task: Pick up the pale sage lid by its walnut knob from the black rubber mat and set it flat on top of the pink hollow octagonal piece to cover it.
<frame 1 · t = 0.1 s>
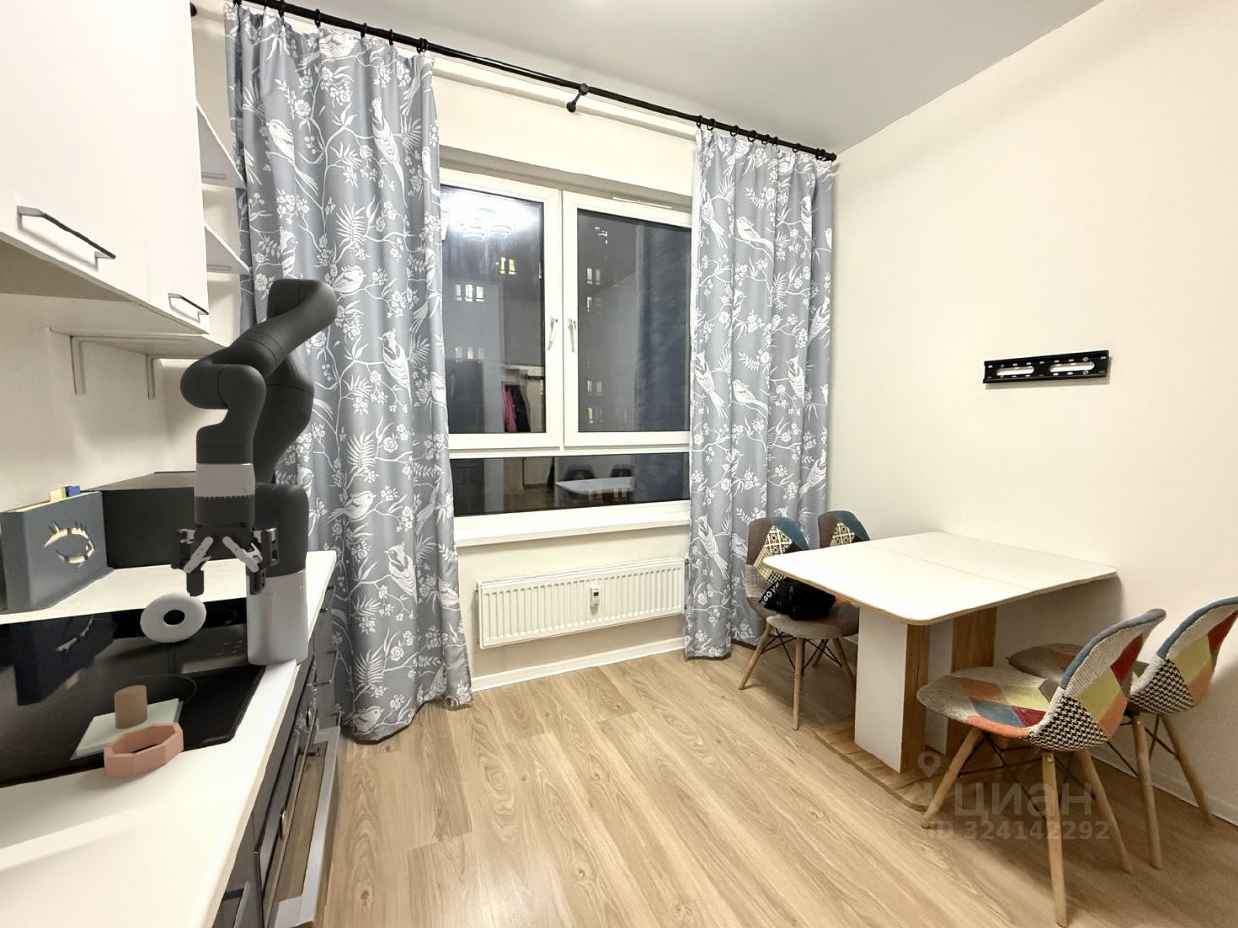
hand: (226, 594, 79), 17 cm above the worktop, tool pointing down, fingers open, 8 cm apart
pink hollow octagonal piece: (145, 768, 64), on the worktop
lid: (132, 727, 70), point 1 cm above the worktop, touching mat
mat: (132, 737, 71), on the worktop
donut: (175, 642, 101), on the worktop
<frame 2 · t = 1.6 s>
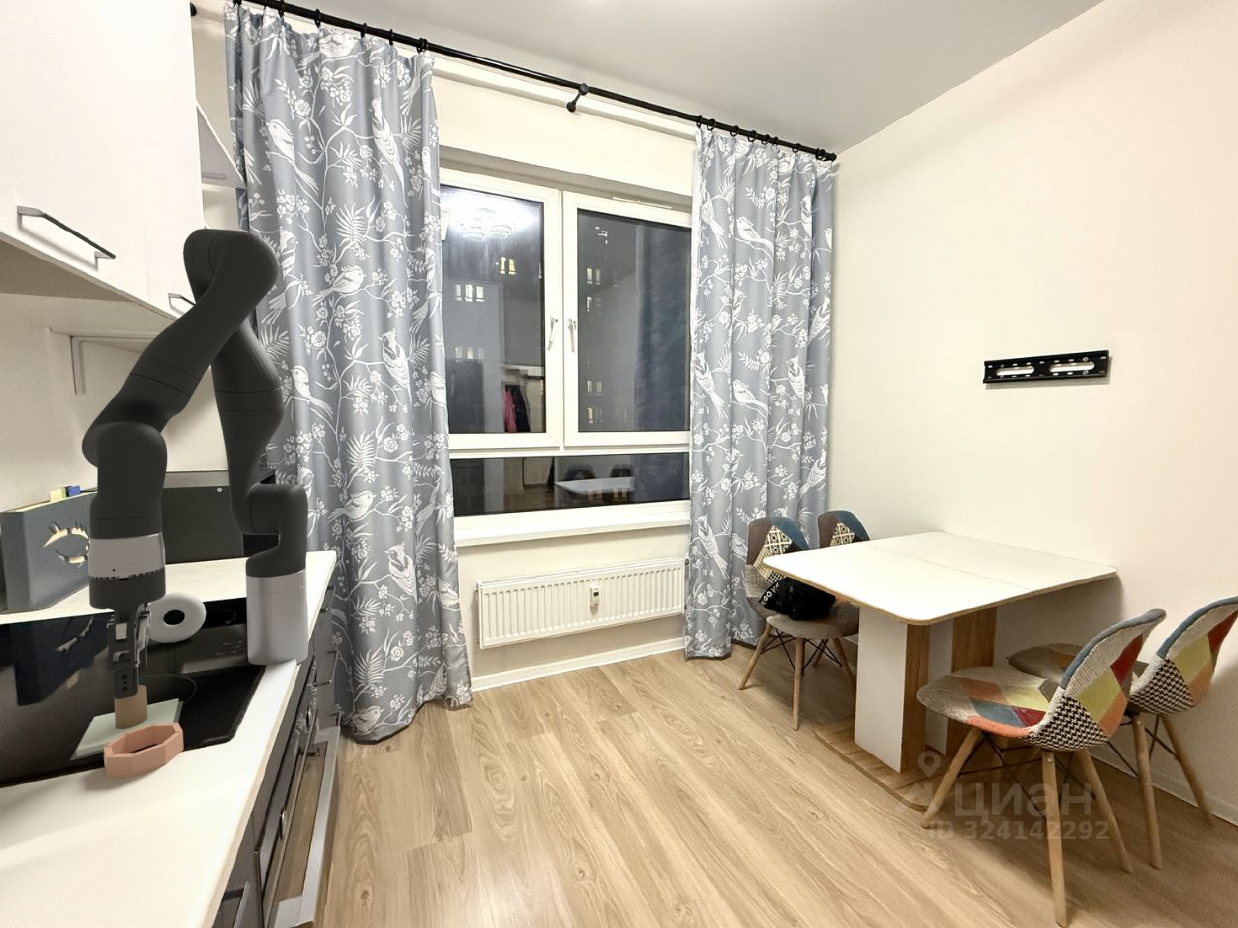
hand: (131, 683, 69), 8 cm above the worktop, tool pointing down, fingers open, 8 cm apart
nothing on the worktop moved.
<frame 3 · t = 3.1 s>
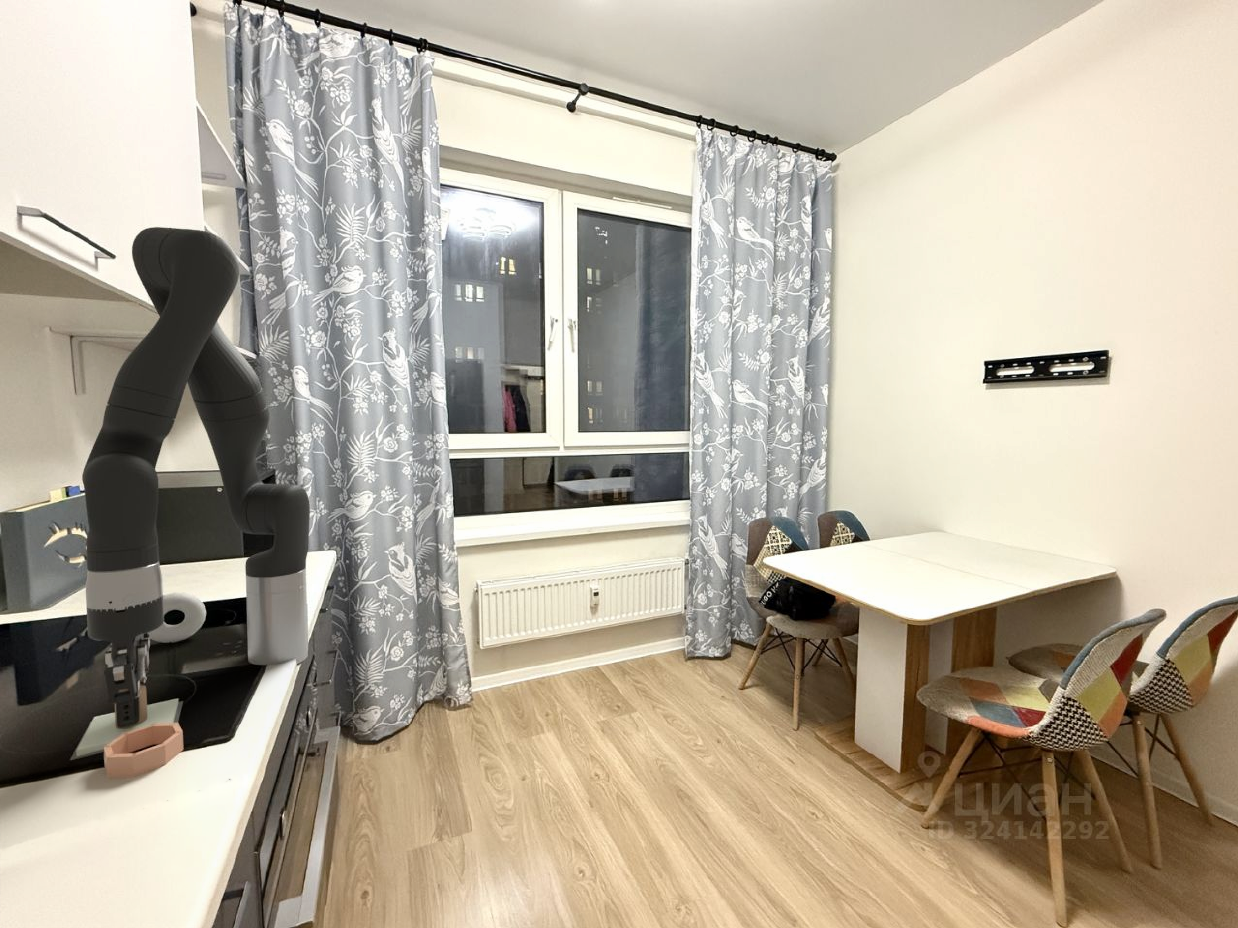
hand: (131, 717, 70), 3 cm above the worktop, tool pointing down, fingers closed on lid, 3 cm apart
lid: (132, 727, 70), point 2 cm above the worktop, touching gripper, mat
everything else where it was.
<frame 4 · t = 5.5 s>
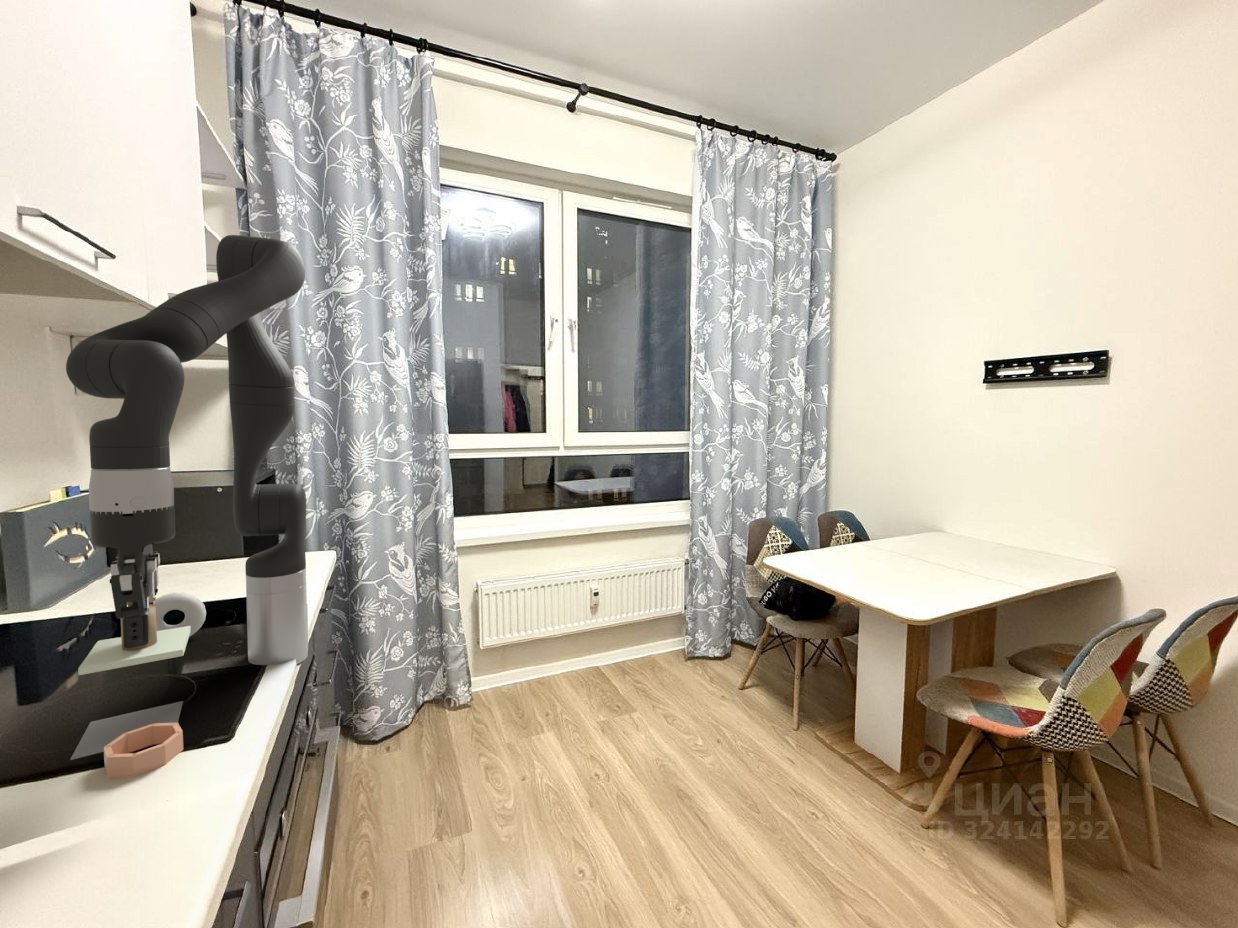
hand: (139, 639, 63), 17 cm above the worktop, tool pointing down, fingers closed on lid, 3 cm apart
lid: (140, 651, 63), point 16 cm above the worktop, touching gripper
everything else where it was.
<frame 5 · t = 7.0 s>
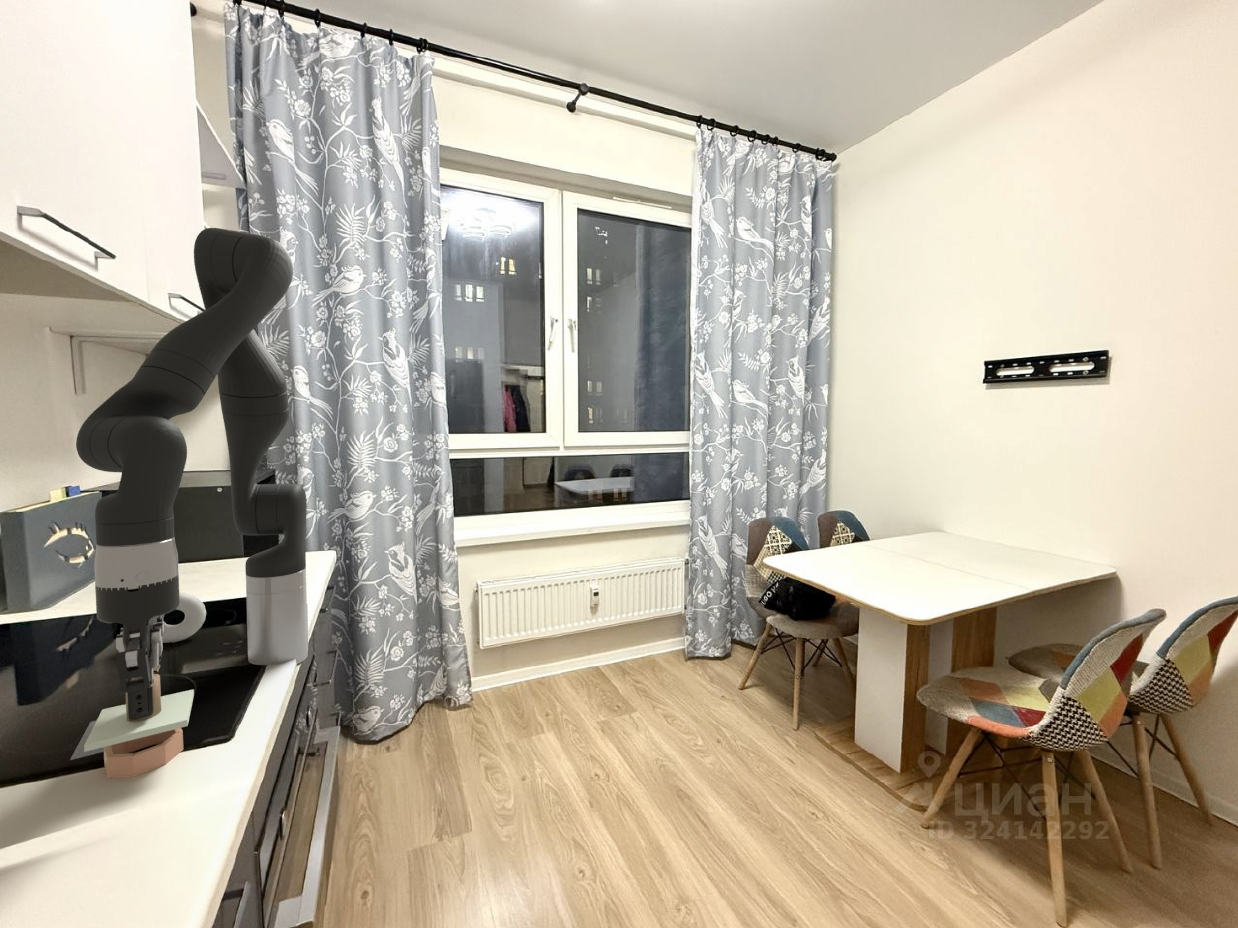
hand: (144, 709, 64), 8 cm above the worktop, tool pointing down, fingers closed on lid, 3 cm apart
lid: (144, 720, 64), point 6 cm above the worktop, touching gripper
everything else where it was.
when the fingers open (7 cm above the worktop, at t = 8.0 s): lid drops 1 cm, resting on pink hollow octagonal piece.
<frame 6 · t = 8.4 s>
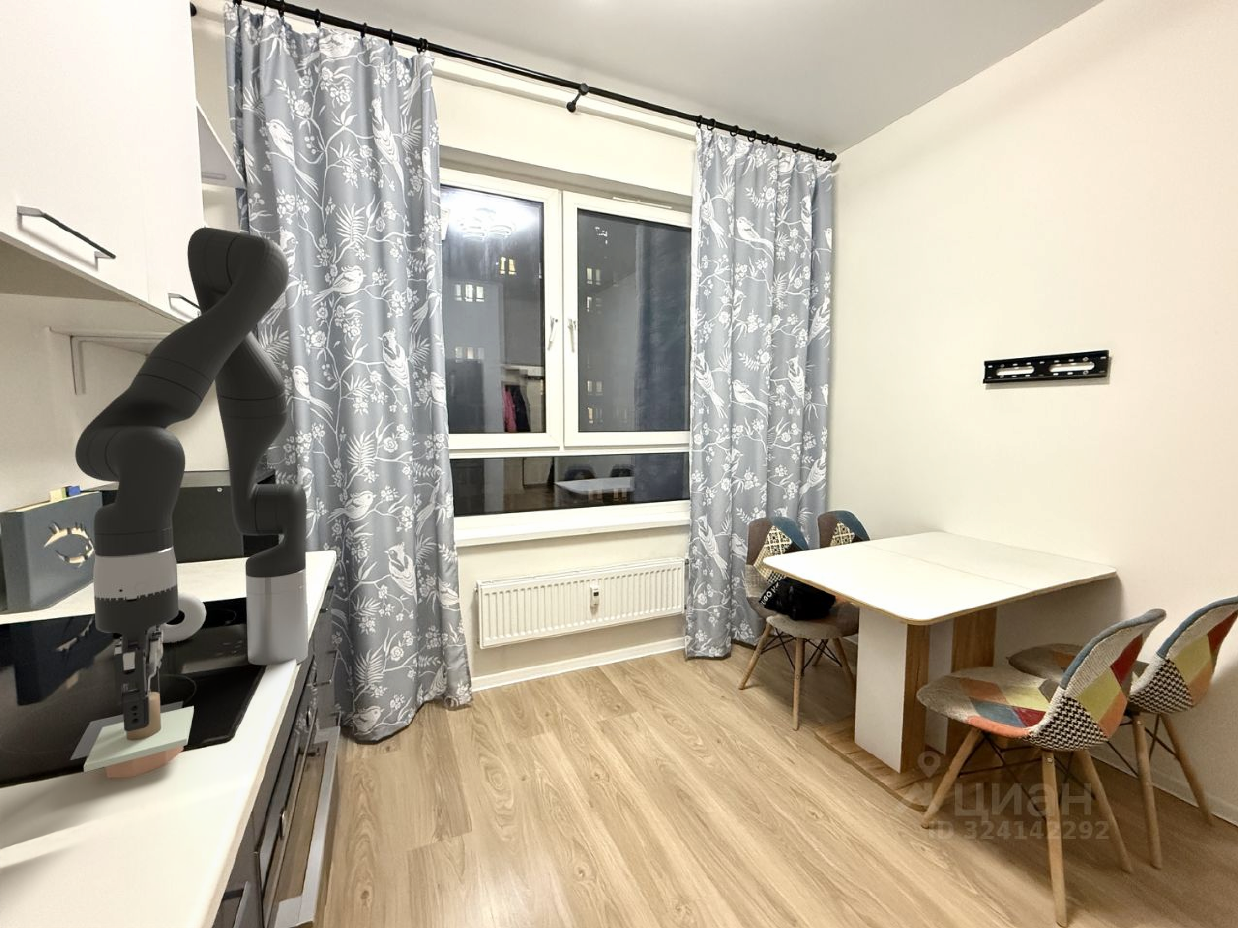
hand: (143, 712, 64), 7 cm above the worktop, tool pointing down, fingers open, 7 cm apart
lid: (144, 738, 64), point 4 cm above the worktop, touching pink hollow octagonal piece
everything else where it was.
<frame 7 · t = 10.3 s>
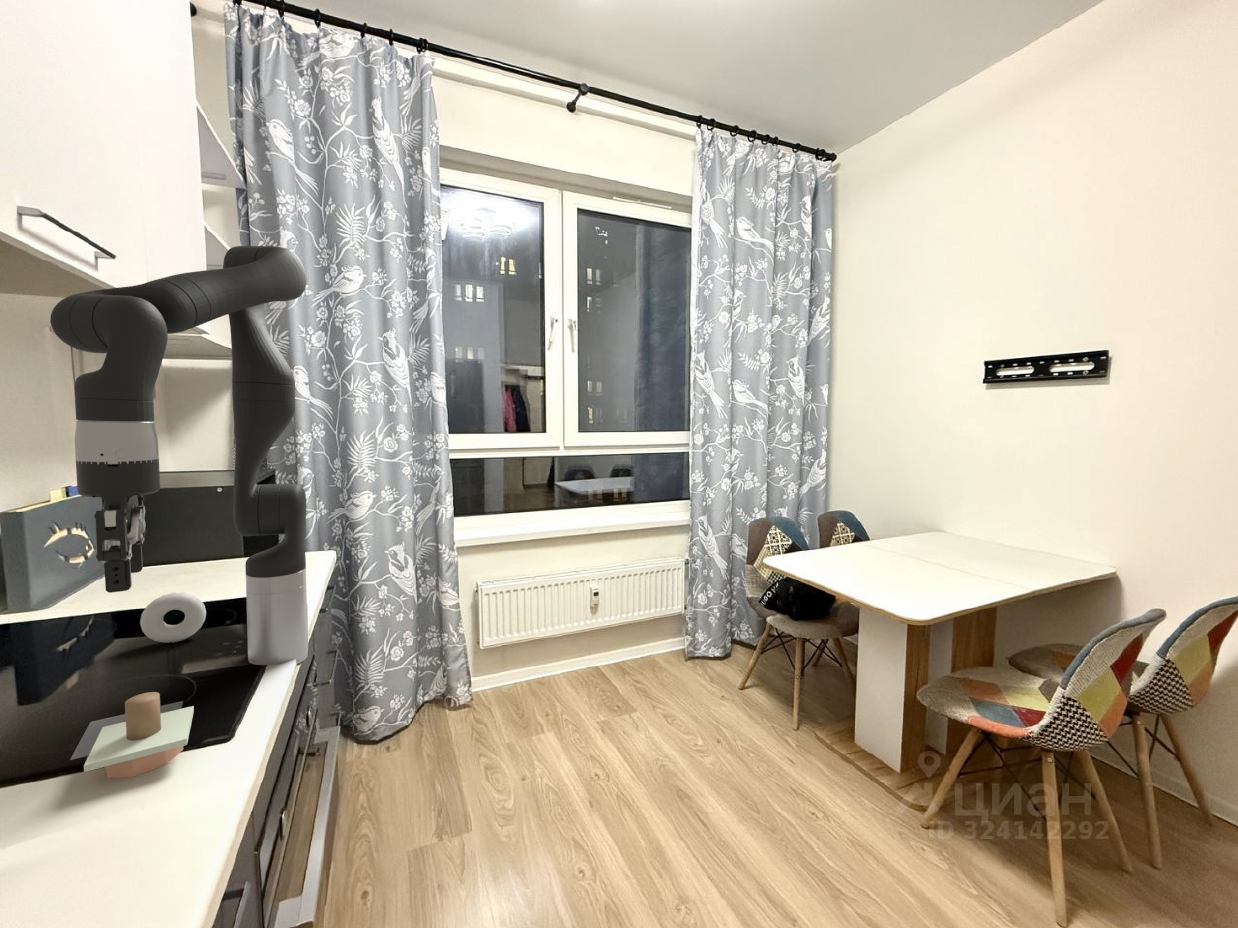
hand: (125, 581, 65), 24 cm above the worktop, tool pointing down, fingers open, 8 cm apart
nothing on the worktop moved.
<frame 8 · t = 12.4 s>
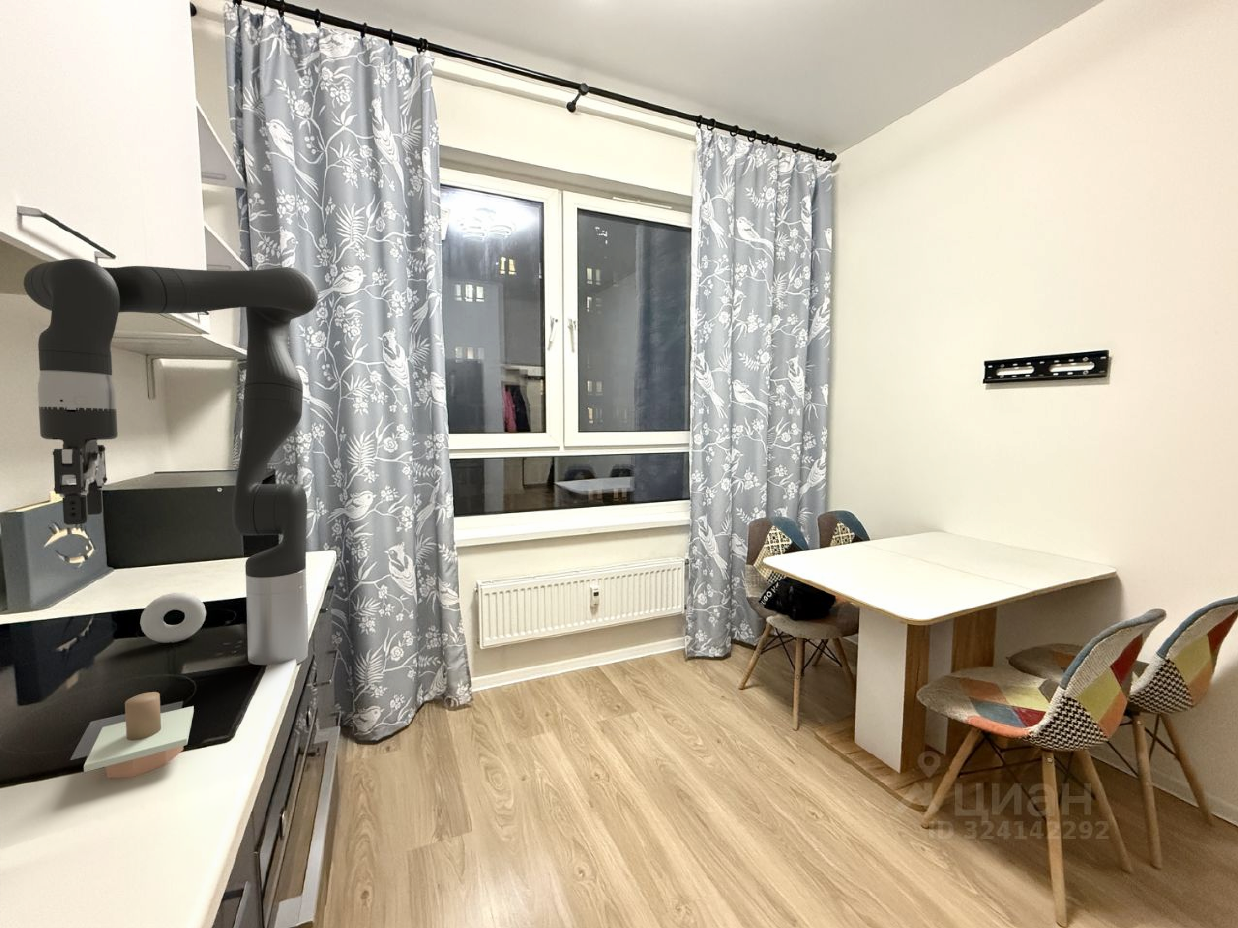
hand: (84, 518, 73), 30 cm above the worktop, tool pointing down, fingers open, 8 cm apart
nothing on the worktop moved.
at the end: lid 0.0 cm off-centre on the pink hollow octagonal piece, point 4.0 cm above the pink hollow octagonal piece's base; lid tilted 0°; the gripper is holding nothing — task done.
